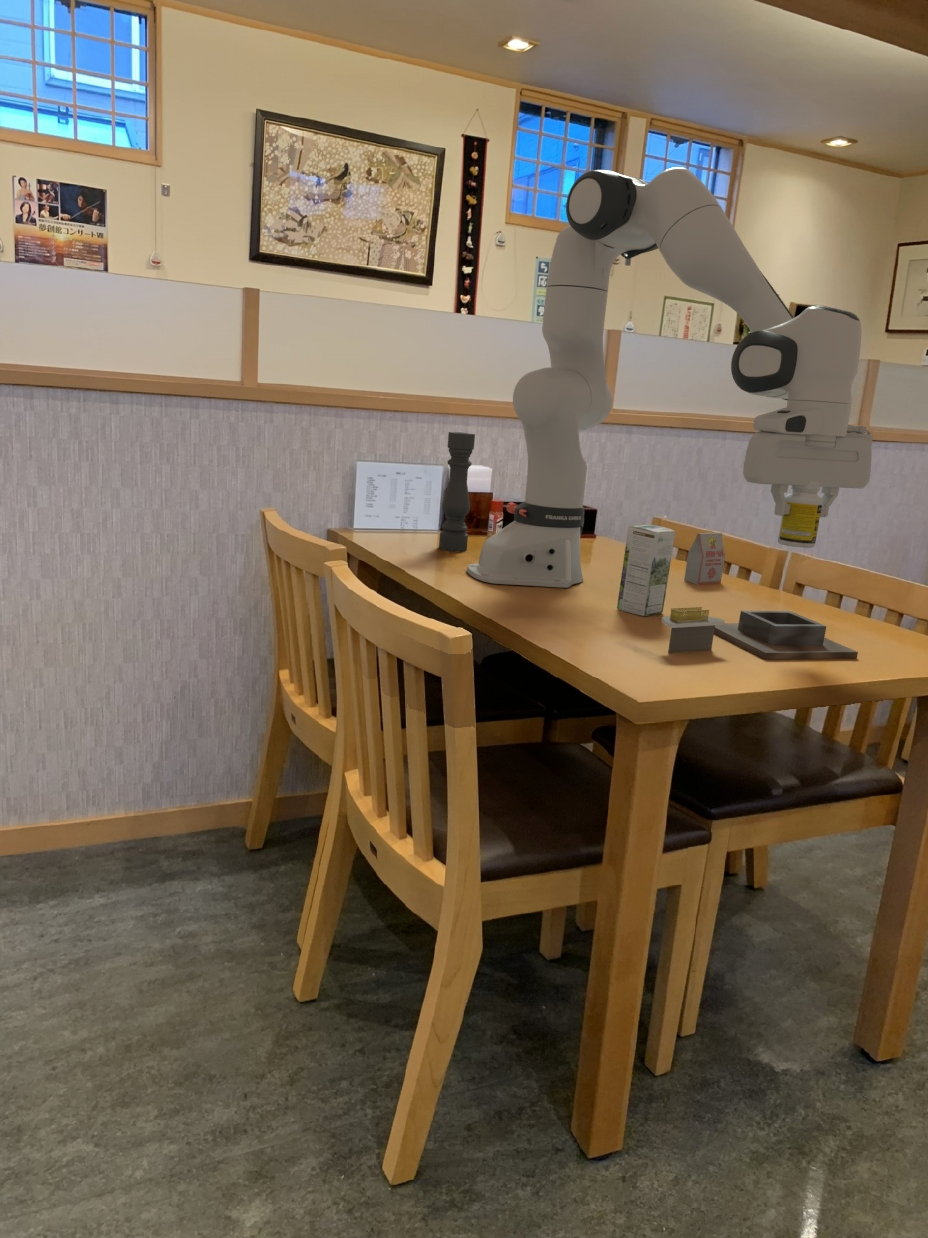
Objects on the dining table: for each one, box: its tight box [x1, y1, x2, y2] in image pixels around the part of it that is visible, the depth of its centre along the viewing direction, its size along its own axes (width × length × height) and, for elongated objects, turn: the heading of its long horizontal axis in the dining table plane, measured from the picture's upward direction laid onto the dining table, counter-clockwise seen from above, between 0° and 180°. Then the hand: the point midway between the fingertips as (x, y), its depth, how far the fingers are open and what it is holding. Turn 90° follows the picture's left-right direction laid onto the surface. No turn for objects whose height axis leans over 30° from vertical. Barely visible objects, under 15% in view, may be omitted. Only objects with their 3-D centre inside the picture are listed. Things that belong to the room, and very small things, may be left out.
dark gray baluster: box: [438, 431, 476, 552], centre depth 193 cm, size 6×6×25 cm
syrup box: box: [616, 524, 676, 617], centre depth 150 cm, size 6×6×14 cm
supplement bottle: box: [777, 482, 822, 549], centre depth 135 cm, size 5×5×10 cm
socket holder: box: [714, 610, 859, 660], centre depth 138 cm, size 16×16×4 cm
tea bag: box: [683, 532, 726, 585], centre depth 182 cm, size 4×7×10 cm, turn 123°
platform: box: [661, 606, 725, 654], centre depth 130 cm, size 12×18×6 cm, turn 116°
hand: (800, 516), depth 135 cm, fingers closed on supplement bottle, 5 cm apart
